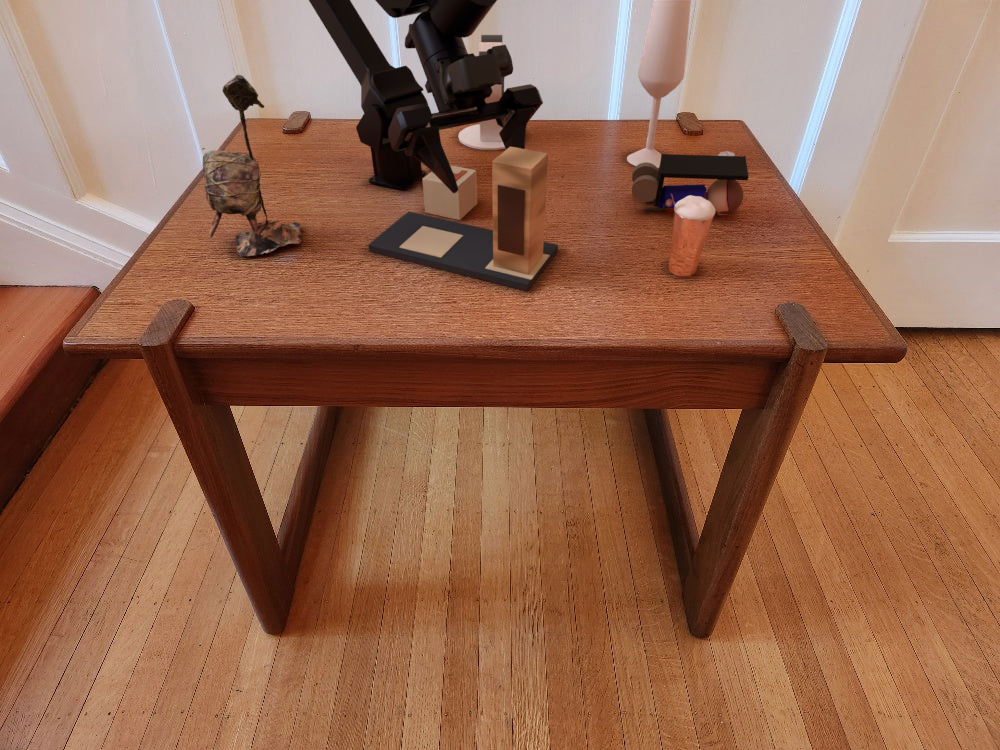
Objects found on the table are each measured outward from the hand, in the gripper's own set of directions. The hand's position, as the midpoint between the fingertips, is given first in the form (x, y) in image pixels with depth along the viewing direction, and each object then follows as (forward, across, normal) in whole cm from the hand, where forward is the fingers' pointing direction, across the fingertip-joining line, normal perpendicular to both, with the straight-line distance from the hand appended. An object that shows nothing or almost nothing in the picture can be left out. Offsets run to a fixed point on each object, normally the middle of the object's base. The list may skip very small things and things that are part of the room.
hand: (490, 183), depth 77 cm
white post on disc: (-16, +18, +29) cm, 38 cm away
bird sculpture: (-4, -26, +17) cm, 31 cm away
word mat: (+6, -4, +6) cm, 9 cm away
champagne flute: (-2, +35, +14) cm, 38 cm away
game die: (+5, +42, +7) cm, 43 cm away
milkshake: (+18, +17, -6) cm, 25 cm away
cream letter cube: (-2, 0, +14) cm, 14 cm away
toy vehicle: (+9, +28, +3) cm, 30 cm away
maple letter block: (+10, 0, 0) cm, 10 cm away
